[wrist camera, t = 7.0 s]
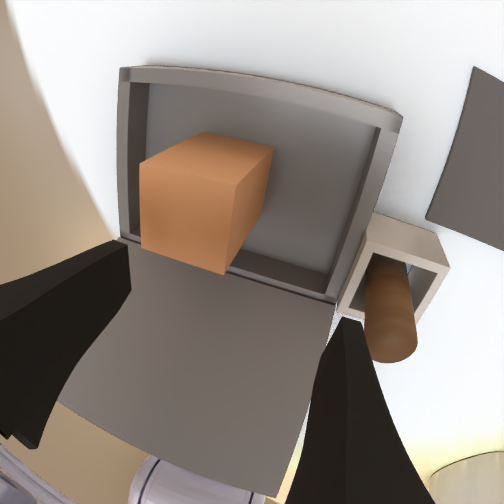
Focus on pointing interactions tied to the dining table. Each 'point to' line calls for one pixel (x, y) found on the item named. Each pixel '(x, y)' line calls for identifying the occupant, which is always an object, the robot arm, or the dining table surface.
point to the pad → (475, 167)
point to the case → (244, 274)
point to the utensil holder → (470, 481)
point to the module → (203, 198)
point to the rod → (388, 310)
